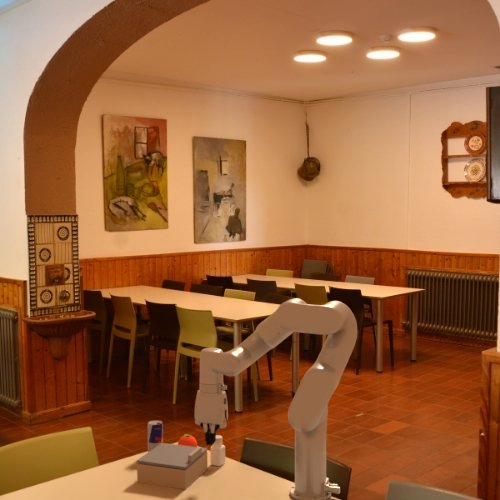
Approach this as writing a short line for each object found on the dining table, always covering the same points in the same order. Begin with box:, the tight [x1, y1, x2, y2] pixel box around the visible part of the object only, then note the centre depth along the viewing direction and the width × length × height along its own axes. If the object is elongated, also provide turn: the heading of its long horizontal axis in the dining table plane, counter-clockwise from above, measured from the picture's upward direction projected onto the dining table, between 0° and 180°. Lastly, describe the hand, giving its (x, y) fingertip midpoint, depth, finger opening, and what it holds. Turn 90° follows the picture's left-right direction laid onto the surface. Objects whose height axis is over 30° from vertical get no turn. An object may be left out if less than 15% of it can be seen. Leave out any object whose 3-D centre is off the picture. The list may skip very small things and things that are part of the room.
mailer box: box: [136, 451, 208, 490], centre depth 214 cm, size 17×17×6 cm
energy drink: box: [146, 419, 164, 453], centre depth 231 cm, size 5×5×12 cm
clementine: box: [177, 433, 198, 447], centre depth 233 cm, size 8×7×7 cm
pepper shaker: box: [210, 434, 226, 467], centre depth 223 cm, size 4×4×10 cm
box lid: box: [136, 442, 208, 469], centre depth 213 cm, size 17×17×3 cm
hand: (210, 443), depth 209 cm, fingers closed
